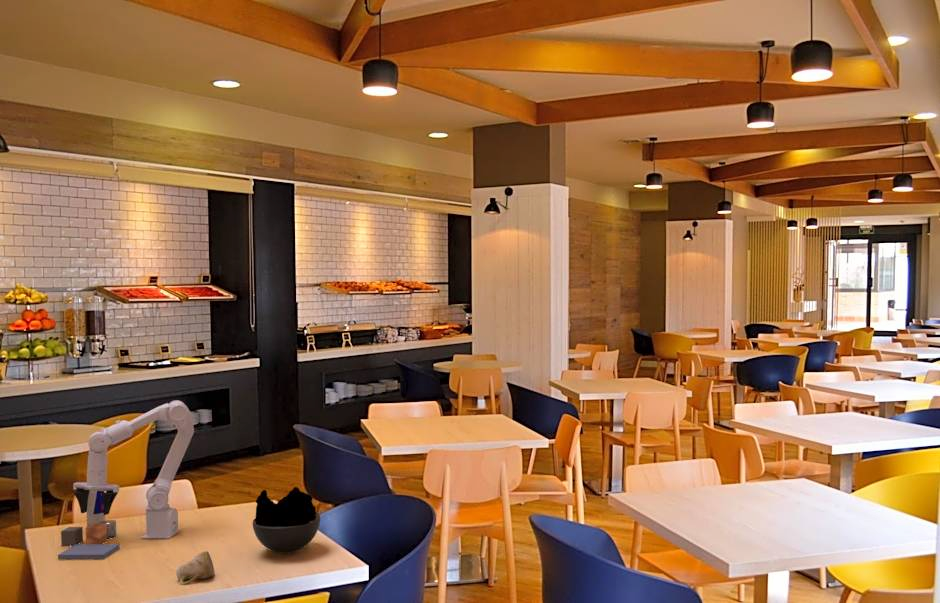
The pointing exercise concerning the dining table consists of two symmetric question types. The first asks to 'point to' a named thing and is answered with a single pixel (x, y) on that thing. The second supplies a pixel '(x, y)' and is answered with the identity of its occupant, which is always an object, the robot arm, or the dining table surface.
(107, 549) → the blue-grey rectangular slab
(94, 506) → the grey blue tall box
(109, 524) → the grey cube
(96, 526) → the terracotta block
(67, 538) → the black rubber block
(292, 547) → the bowl of black rocks
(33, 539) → the dining table surface
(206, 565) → the beige lumpy soft piece
